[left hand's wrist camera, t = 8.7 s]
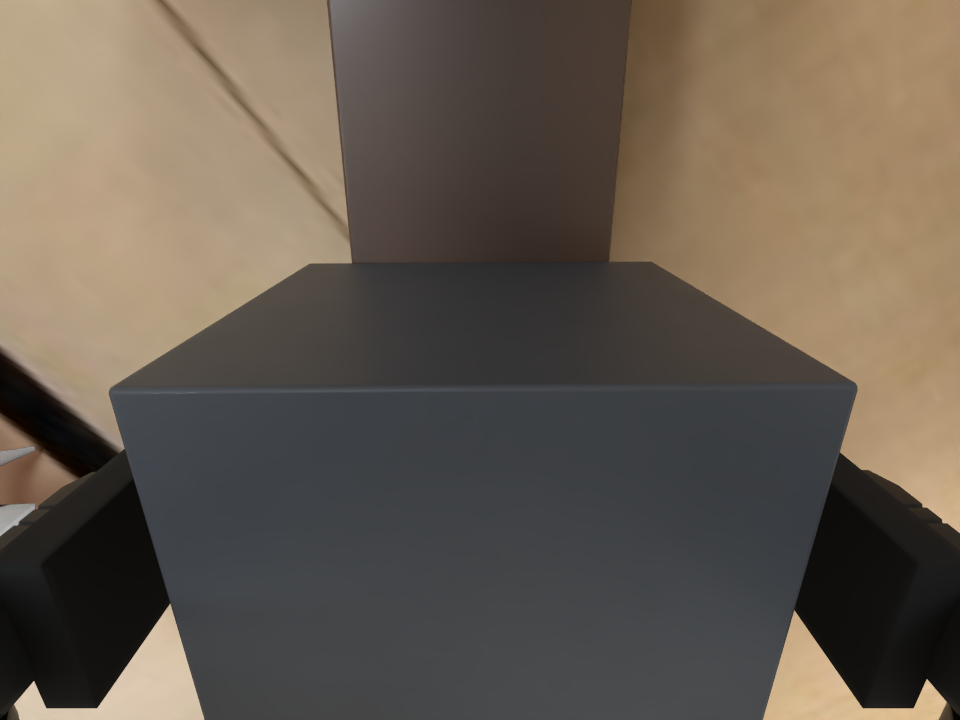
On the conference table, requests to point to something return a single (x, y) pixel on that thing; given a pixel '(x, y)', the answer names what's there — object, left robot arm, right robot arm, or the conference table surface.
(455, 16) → the long brown block
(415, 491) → the grey block
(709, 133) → the conference table surface
